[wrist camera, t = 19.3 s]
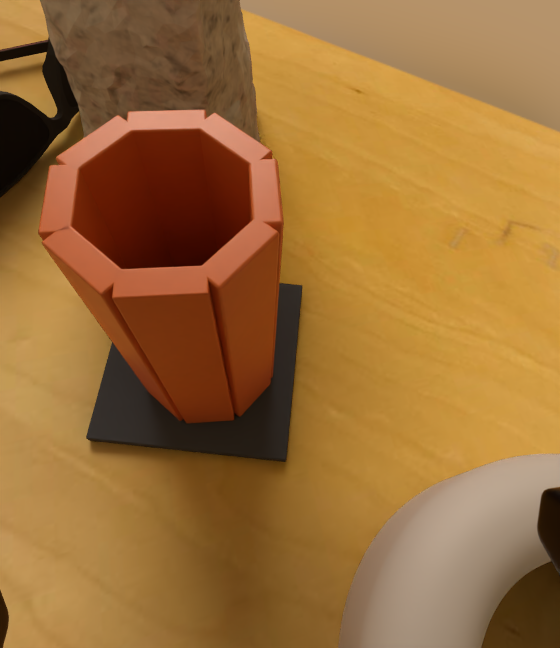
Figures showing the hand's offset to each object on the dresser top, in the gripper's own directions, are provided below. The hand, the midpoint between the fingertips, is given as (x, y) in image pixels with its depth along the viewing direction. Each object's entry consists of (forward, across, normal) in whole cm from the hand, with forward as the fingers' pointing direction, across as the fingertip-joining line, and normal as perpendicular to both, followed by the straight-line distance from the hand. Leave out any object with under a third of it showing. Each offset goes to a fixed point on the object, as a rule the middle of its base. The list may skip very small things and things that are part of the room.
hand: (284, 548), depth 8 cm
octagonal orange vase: (+15, +2, +3) cm, 16 cm away
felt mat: (+16, +2, +3) cm, 16 cm away
